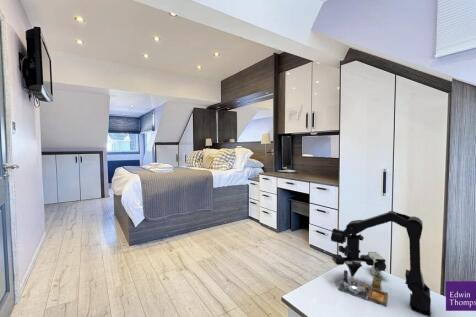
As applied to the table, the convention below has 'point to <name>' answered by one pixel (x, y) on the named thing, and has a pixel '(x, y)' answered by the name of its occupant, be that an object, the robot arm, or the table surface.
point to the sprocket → (353, 284)
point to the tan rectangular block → (376, 283)
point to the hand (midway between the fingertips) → (352, 275)
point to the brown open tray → (377, 296)
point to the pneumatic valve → (377, 263)
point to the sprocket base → (353, 292)
